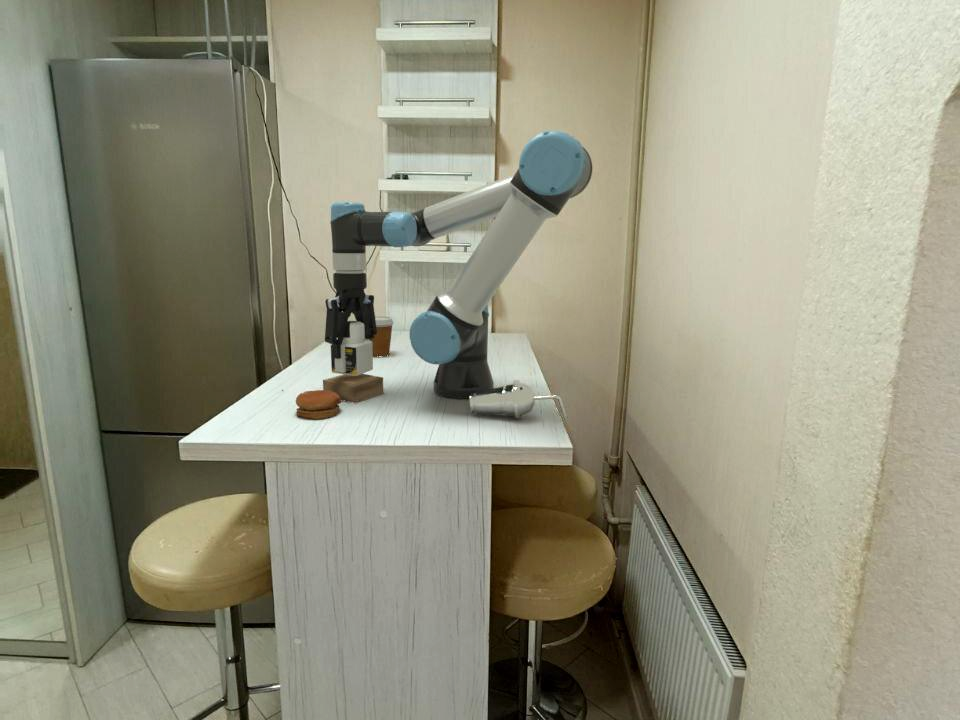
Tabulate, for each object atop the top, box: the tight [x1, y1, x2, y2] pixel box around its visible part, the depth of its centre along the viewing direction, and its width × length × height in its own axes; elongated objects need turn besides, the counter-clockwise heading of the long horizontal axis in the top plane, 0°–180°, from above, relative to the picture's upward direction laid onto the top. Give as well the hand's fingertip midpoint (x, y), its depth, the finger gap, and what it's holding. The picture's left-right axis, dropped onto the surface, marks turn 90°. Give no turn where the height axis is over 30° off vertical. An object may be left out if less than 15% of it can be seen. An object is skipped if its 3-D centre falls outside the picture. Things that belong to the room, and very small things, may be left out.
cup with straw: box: [469, 379, 568, 420], centre depth 119 cm, size 8×9×20 cm
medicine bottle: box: [330, 320, 374, 376], centre depth 132 cm, size 7×7×12 cm
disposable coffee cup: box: [371, 315, 395, 358], centre depth 178 cm, size 10×10×12 cm
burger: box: [295, 389, 342, 420], centre depth 120 cm, size 10×9×5 cm
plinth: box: [322, 373, 384, 404], centre depth 134 cm, size 10×10×4 cm
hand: (353, 368), depth 133 cm, fingers closed on medicine bottle, 8 cm apart
